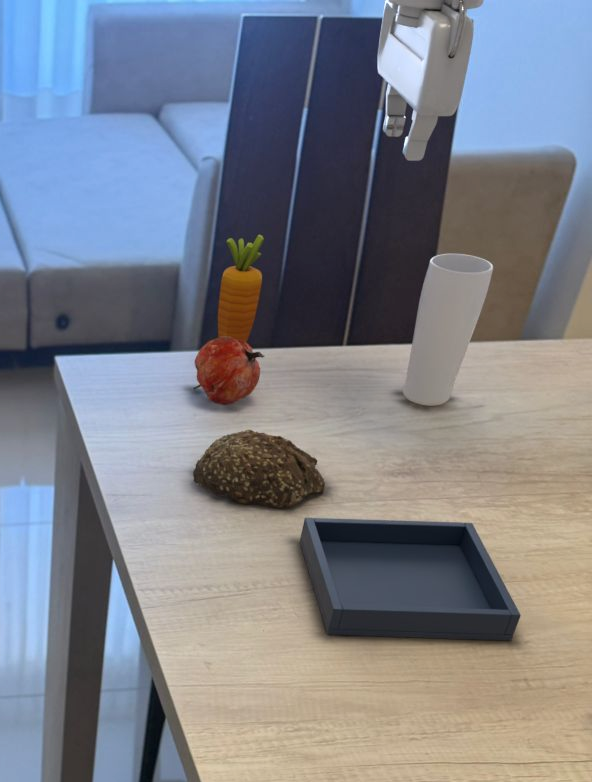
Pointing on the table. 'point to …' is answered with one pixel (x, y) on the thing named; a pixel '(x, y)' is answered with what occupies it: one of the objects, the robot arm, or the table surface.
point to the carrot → (240, 291)
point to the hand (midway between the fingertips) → (401, 146)
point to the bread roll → (258, 470)
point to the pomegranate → (227, 369)
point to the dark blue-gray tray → (406, 580)
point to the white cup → (445, 325)
